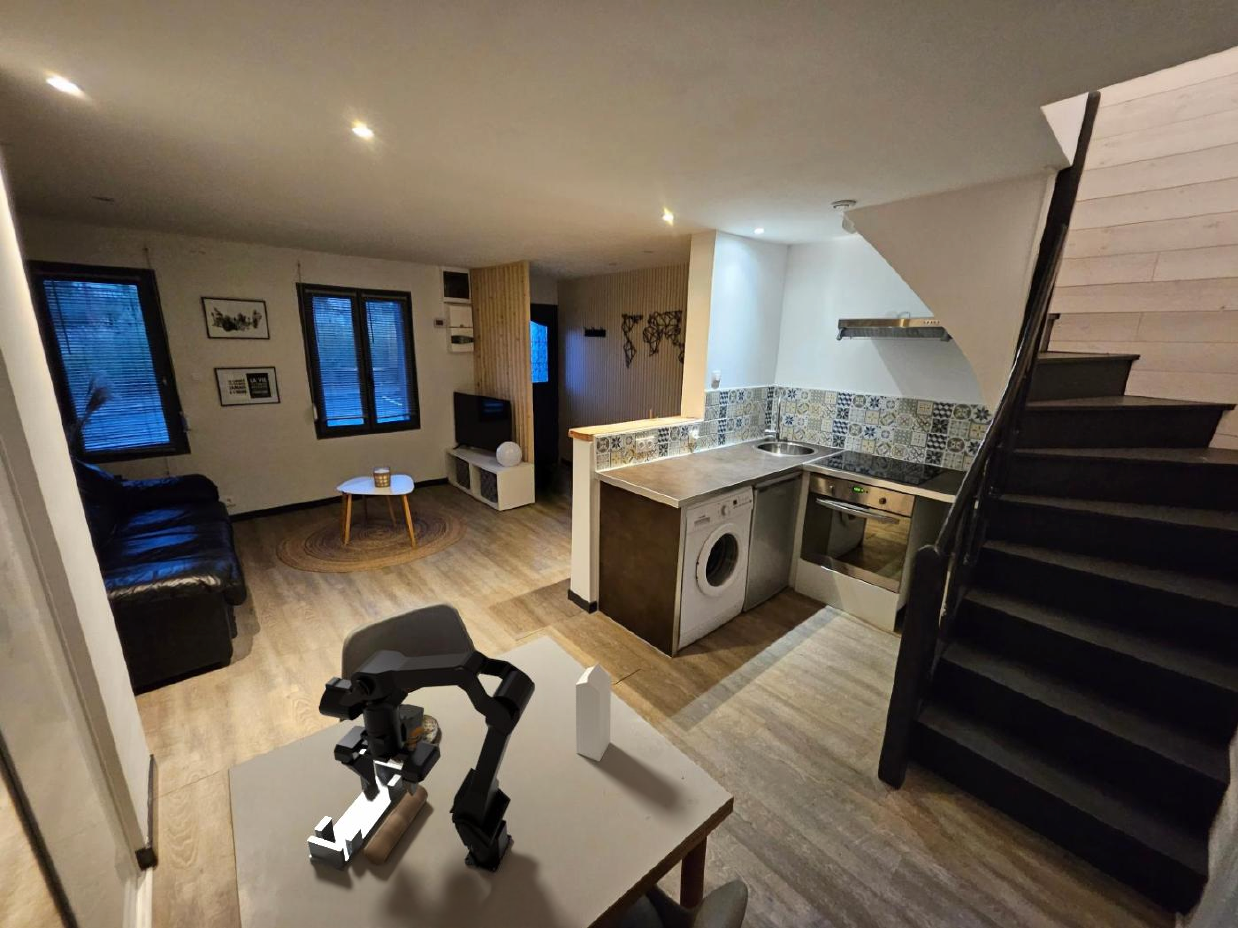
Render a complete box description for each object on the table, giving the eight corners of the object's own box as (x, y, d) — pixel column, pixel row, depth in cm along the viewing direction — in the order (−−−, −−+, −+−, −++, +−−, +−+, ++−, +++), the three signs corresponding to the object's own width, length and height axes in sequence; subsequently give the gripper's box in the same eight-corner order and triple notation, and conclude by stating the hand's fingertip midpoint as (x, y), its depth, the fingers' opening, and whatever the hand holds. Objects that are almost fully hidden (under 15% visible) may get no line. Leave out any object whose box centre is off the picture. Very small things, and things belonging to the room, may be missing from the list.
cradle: (410, 782, 102) (408, 766, 100) (344, 871, 85) (340, 853, 84) (378, 774, 103) (376, 757, 102) (307, 859, 87) (303, 841, 85)
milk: (610, 742, 113) (612, 663, 107) (599, 762, 107) (600, 680, 101) (587, 733, 115) (588, 655, 109) (575, 752, 110) (575, 672, 104)
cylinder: (411, 795, 99) (410, 781, 98) (427, 802, 98) (428, 787, 97) (364, 860, 87) (363, 845, 85) (383, 868, 86) (382, 852, 85)
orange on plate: (432, 712, 121) (429, 688, 119) (446, 744, 112) (443, 718, 110) (380, 734, 114) (376, 709, 112) (391, 770, 105) (387, 743, 103)
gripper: (454, 697, 91) (460, 762, 95) (371, 679, 95) (381, 742, 99) (416, 745, 80) (425, 815, 84) (325, 722, 85) (338, 790, 89)
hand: (392, 787), depth 89 cm, fingers open, 9 cm apart
